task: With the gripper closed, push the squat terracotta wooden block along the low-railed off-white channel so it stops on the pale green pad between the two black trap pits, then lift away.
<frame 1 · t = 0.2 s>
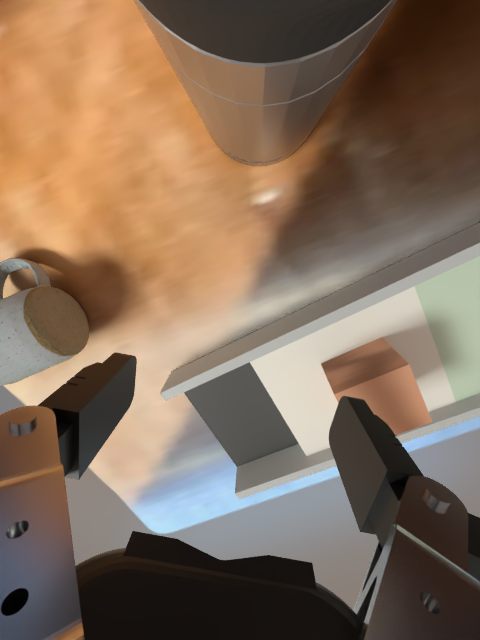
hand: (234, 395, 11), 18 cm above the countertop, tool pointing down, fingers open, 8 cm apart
ceramic mug: (47, 308, 30), on the countertop
block: (361, 375, 27), point 2 cm above the countertop, touching trap channel
trap channel: (391, 346, 29), on the countertop
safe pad: (473, 312, 27), resting in trap channel
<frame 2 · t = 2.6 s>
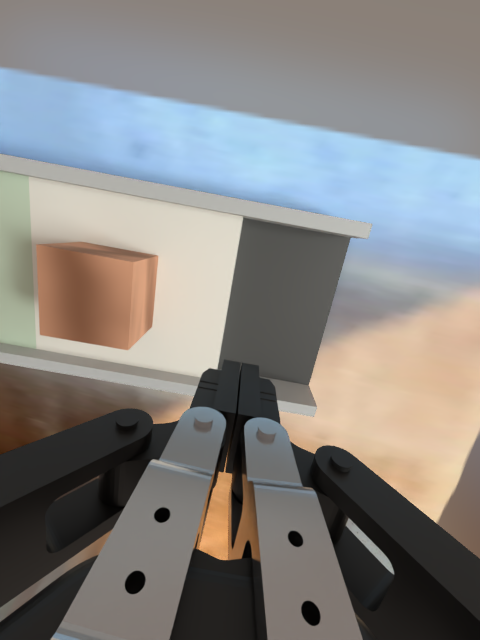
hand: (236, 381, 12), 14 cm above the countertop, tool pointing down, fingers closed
ceramic mug: (342, 498, 33), on the countertop
block: (118, 286, 23), point 2 cm above the countertop, touching trap channel
trap channel: (86, 272, 25), on the countertop
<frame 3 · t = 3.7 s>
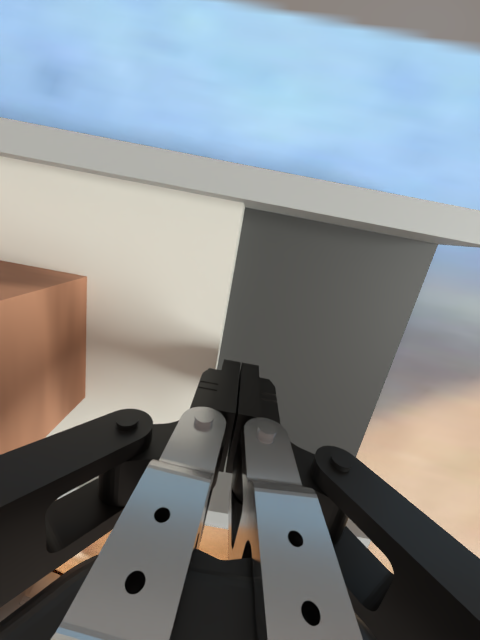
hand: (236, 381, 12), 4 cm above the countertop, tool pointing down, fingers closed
block: (20, 329, 13), point 2 cm above the countertop, touching trap channel
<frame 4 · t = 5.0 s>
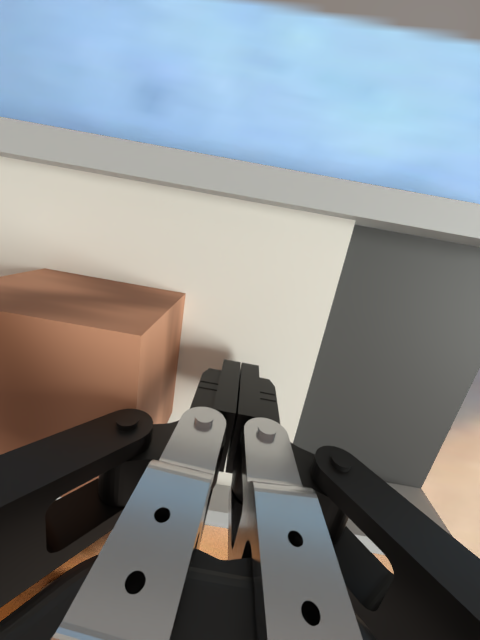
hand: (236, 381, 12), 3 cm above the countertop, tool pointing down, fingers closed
block: (113, 345, 13), point 3 cm above the countertop, touching gripper, trap channel
trap channel: (63, 315, 15), on the countertop
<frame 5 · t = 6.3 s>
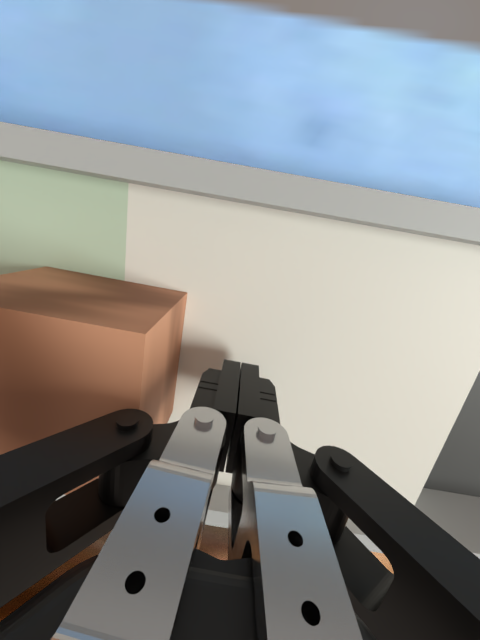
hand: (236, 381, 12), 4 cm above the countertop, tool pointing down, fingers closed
block: (114, 344, 13), point 3 cm above the countertop, touching gripper
trap channel: (196, 339, 15), on the countertop
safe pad: (50, 314, 15), resting in trap channel
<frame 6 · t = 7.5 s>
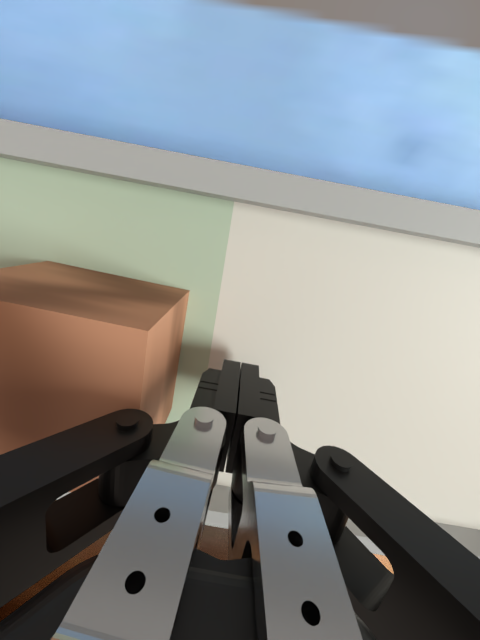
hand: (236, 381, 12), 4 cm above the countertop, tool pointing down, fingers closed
block: (114, 340, 13), point 2 cm above the countertop, touching gripper, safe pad
trap channel: (269, 352, 15), on the countertop
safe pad: (124, 326, 15), resting in trap channel
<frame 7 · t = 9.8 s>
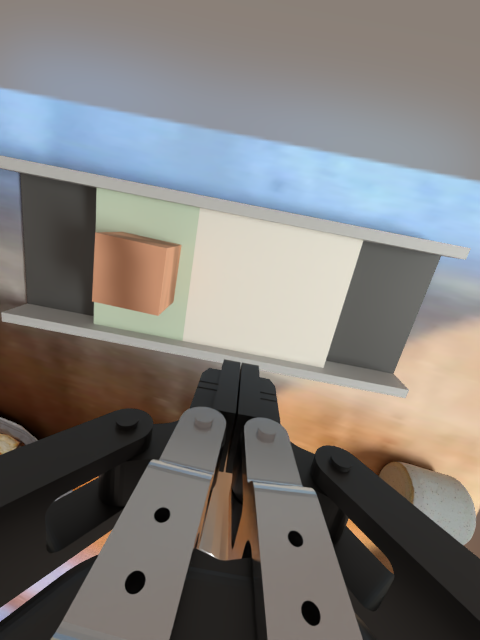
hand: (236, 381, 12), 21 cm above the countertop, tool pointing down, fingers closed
ceramic mug: (401, 481, 39), on the countertop
block: (148, 268, 29), point 2 cm above the countertop, touching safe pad
trap channel: (221, 280, 32), on the countertop
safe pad: (151, 266, 31), resting in trap channel
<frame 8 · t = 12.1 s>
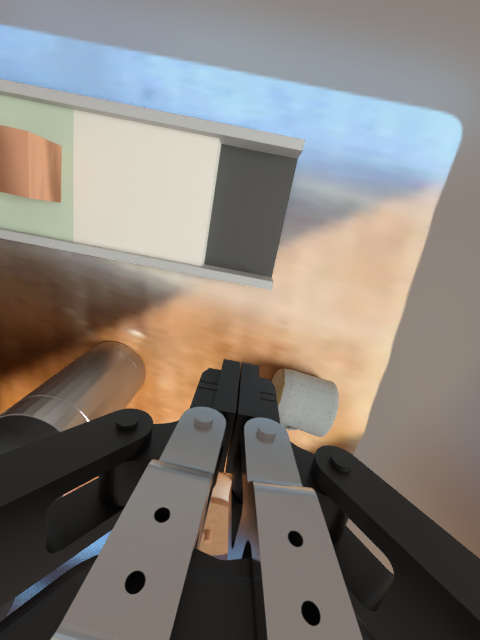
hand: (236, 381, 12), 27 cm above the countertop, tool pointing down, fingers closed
ceramic mug: (294, 393, 43), on the countertop
block: (35, 169, 32), point 2 cm above the countertop, touching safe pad
lidded jar: (215, 484, 49), on the countertop
trap channel: (109, 187, 35), on the countertop
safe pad: (45, 175, 35), resting in trap channel
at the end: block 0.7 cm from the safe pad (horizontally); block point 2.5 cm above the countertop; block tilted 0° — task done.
